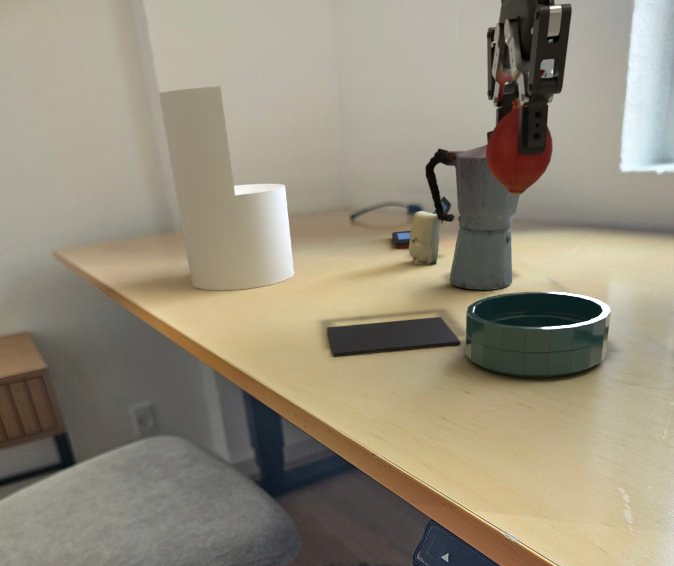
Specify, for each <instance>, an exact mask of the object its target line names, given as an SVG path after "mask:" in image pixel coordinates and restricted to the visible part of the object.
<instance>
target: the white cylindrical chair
mask: <svg viewBox="0 0 674 566" xmlns="http://www.w3.org/2000/svg"><path fill="white" fill-rule="evenodd" d="M158 97H159V103H160V108H161V114H162V115H161V116H162V120H163V126H164V131H165V138H166V144H167V148H168V155H169V160H170V167H171V171H172V177H173V178H172V179H173V183H174V189H175V194H176V200H177V207H178V211H179V218H180V224H181V229H182V235H183V242H184V247H185V252H186V258H187V265H188V270H189V276H190V281H191V285H192V286H193V287H194V288H197V289H199V290H206V291H239V290H249V289H256V288H263V287H266V286H271V285H275V284H279V283H282V282H284V281H287V280H289V279H291V278H292V277H293V276H295V270H294V259H293V250H292V240H291V230H290V220H289V210H288V201H287V191H286V190H287V189H286V184H282V183H250V184H236V185H235V184H234V176H233V168H232V162H231V161H232V160H231V154H230V146H229V140H228V132H227V123H226V117H225V110H224V104H223V103H224V102H223V96H222V88H221V85H219V86H217V85H216V86H206V87H194V88H184V89H176V90H169V91H162V92H158Z"/></svg>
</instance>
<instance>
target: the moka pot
mask: <svg viewBox="0 0 674 566" xmlns="http://www.w3.org/2000/svg"><path fill="white" fill-rule="evenodd" d="M492 131H493V130H489V131H488V132H486V140H487V141H486V142H487V144H488V141H489V138H490V135H491V134H492ZM487 144H485V145H482V146H478V147H474V148H472V149H467V150H447V149H443V148H438V149H437V151H436V152H434V155H433V156H432V157H431V158H430V159H429V161H428V162H427V163H426V165H425V178H426V182H427V185H428V188H429V191H430V194H431V198H432V201H433V206H434V210H436V213H437V217H438V219H439V220H443V222H450V223H452V222H453V221H454V220H455V217H456V216H455V215H454V214H453V213H448V214H446V213H445V212H444V209H443V206H442V204H441V202H440V201H441V199H442V197H441V194H440V193H441V192H440V190H439V185H438V180H437V176H436V173H435V168H436V166H437V165H439V164H442V165H444V166H448V167H454V168H455V181H456V182H455V183H456V199H457V211H458V214H459V215H458V226H459V229H458V233H457V237H456V242H455V248H454V253H453V258H452V264H451V268H450V273H449V279H448V280H449V282H450V284H451V285H453V286H455V287H457V288H462V289H467V290H479V291H491V290H500V289H504V288H507V287H509V286H511V284H513V283H512V282H513V260H512V256H513V255H512V230H511V229H510V228H511V227H512V225H513V220H514V219H513V215H514V214H516V213H517V209H518V204H519V199H520V195H521V194H520V195H513V194H511V193H510V192H509V191H508V190H507V188H505V187H504V186H503V185H502V184H501V183H500V182H499V181H498V180H497V179H496V178H495V177H494V176H493V175H492V174H491V172H490V170H489V168H488V165H487V159H486V150H487Z"/></svg>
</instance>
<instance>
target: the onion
mask: <svg viewBox="0 0 674 566" xmlns="http://www.w3.org/2000/svg"><path fill="white" fill-rule="evenodd" d="M512 105H513V108H512V111H511V112H509V113H508V114H507V115H506V116H504V117H503V118H502V119H501V120H500V121H499V123H498V124H497V125H496V124H495V127H494V128H493V130H491V131H492V134H491V135H490V138H489V141H488V143H487V144H486V145H487V150H486V159H487V165H488V168H489V170H490V172H491V174H492V175H493V176H494V177H495V178H496V179H497V180H498V181H499V182H500V183H501V184H502V185H503V186H504V187H505V188H507V190H508V191H509V192H510V193H511V194H513V195H522V194H523V193H525V192H526V191H527V190H528V189H529V188H530V187H532V186H533V185H534V184H535V183H536V182H537V181H539V179H540V178H541V177H542V176H543V175H544V174H545V173H546V171H547V169H548V167H549V166H550V163H551V161H552V156H553V151H554V149H553V137H552V133H551V131H550V129H549V126H548V125H547V135H546V149H545V151H544V152H543V153H542V154H535V155H521V154H519V152H518V133H519V111H520V107H525V105H523V106H521V104H520V100H519V98H517V99H516V100H515V101H514V102H512Z"/></svg>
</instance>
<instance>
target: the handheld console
mask: <svg viewBox="0 0 674 566" xmlns="http://www.w3.org/2000/svg"><path fill="white" fill-rule="evenodd" d="M440 202H441V204H442V206H443V209H444V212H445V213H446V214H449V212H450V211H451V209H452V203H451V202H450V201H449V199H447V197H446V196H442V197H441V201H440ZM432 214H437V213H436V209H434V211H433V213H432ZM443 223H444V221H443V220H441V226H442V224H443ZM410 233H411V230H404V231H403V230H402V231H401V230H400V231H394V232H392V233H391V237H392V241H393V245H394V247H395V248H398V249H402V248H403V249H404V248H409V243H410Z"/></svg>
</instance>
